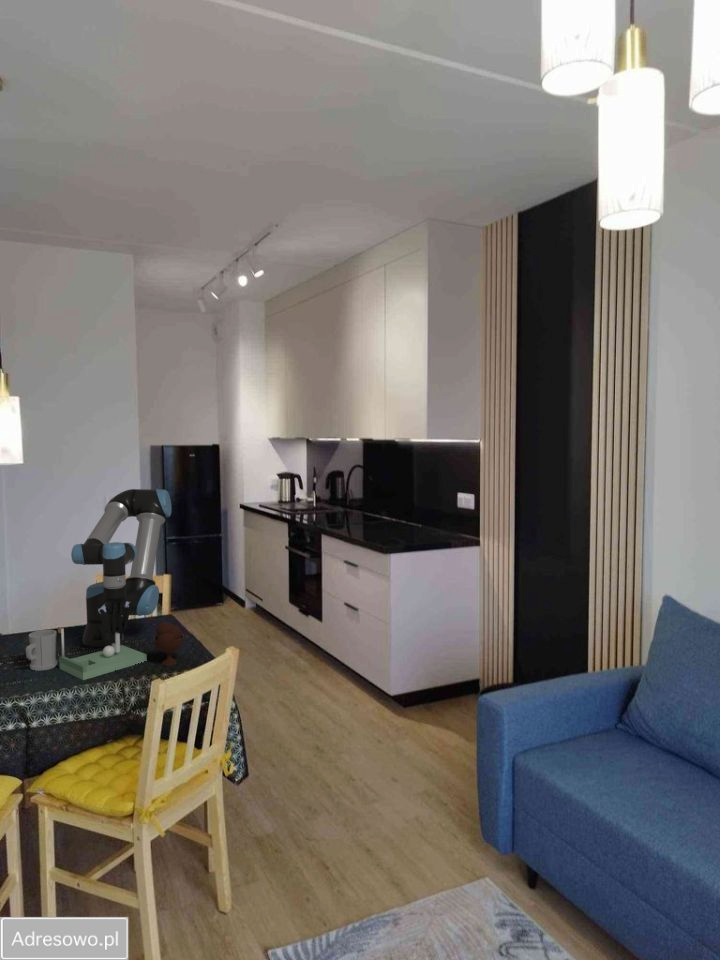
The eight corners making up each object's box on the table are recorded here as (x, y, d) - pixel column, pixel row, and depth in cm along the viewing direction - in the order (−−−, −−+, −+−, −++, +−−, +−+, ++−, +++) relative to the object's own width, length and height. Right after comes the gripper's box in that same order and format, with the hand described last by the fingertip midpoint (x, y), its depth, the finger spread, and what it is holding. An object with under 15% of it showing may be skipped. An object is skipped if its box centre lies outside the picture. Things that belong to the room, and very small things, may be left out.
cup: (54, 671, 232) (53, 637, 231) (25, 674, 229) (24, 639, 228) (59, 661, 242) (58, 628, 241) (31, 663, 239) (30, 630, 238)
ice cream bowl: (168, 670, 233) (168, 628, 232) (146, 664, 239) (146, 623, 238) (191, 661, 242) (190, 620, 241) (169, 656, 248) (169, 616, 247)
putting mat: (57, 668, 235) (56, 627, 234) (120, 650, 253) (119, 613, 252) (83, 680, 224) (82, 637, 223) (146, 661, 242) (145, 621, 241)
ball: (110, 654, 242) (100, 656, 239) (111, 643, 242) (101, 645, 239) (116, 657, 240) (106, 659, 237) (117, 646, 240) (107, 647, 236)
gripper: (103, 591, 232) (105, 658, 234) (136, 584, 243) (138, 648, 244) (91, 588, 237) (93, 653, 239) (125, 581, 247) (126, 644, 249)
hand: (116, 651), depth 241 cm, fingers closed
